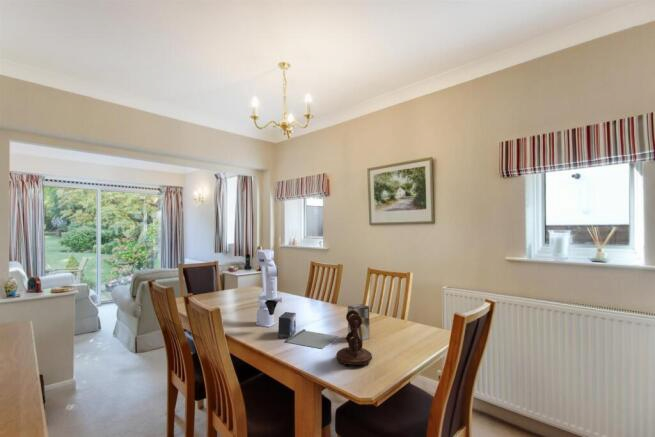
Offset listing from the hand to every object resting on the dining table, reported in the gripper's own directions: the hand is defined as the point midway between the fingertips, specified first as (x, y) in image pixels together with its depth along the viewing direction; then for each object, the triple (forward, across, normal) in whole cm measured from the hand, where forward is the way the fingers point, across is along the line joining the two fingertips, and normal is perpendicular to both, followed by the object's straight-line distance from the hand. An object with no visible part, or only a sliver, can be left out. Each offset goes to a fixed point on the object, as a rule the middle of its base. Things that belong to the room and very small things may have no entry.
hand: (271, 314), depth 165 cm
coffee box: (+10, +45, +11) cm, 47 cm away
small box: (+10, +10, 0) cm, 14 cm away
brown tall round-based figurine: (+10, +52, -14) cm, 55 cm away
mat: (+9, +24, 0) cm, 26 cm away
